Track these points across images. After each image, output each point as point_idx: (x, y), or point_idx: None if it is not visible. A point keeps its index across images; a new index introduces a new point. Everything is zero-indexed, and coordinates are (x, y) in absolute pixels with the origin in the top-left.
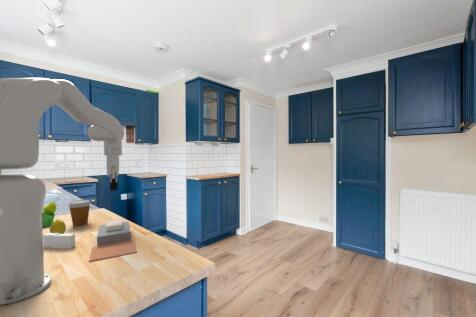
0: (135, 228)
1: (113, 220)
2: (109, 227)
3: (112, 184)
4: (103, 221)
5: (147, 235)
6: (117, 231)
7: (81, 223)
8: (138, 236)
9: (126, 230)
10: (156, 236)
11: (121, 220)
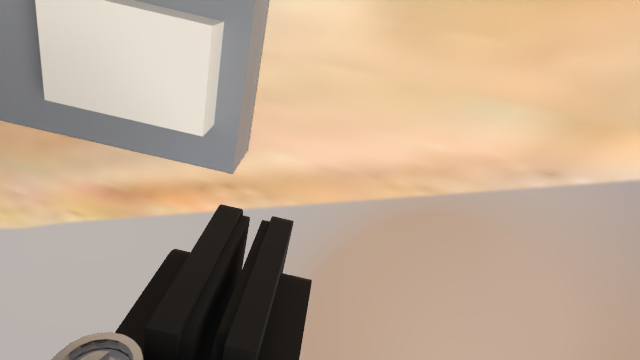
0: (248, 185)
1: (197, 74)
2: (43, 8)
3: (131, 321)
4: (616, 54)
5: (84, 194)
6: (23, 51)
7: None
8: (90, 154)
9: (23, 105)
10: (48, 220)
11: (161, 124)
